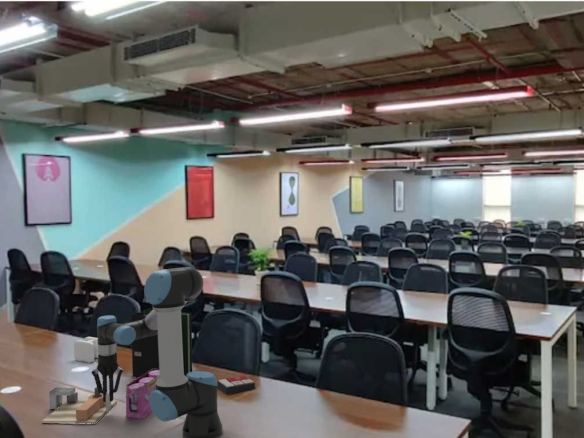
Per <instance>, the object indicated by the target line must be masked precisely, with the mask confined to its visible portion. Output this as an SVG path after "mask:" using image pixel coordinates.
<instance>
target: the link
mask: <svg viewBox="0 0 584 438" xmlns="http://www.w3.org/2000/svg"><path fill="white" fill-rule="evenodd" d="M86 400H87V401H86V402H85V403H84V404H82V405H81V406H80V407H79V408H78V409H76V420H87V419H88V418H89V417H90V416H91V415H93V414H94V413H95V412H96V411H97V410H98V409H99V408H100V407H103V406H105V405H106V402H104V401H103V394H102V393H100V397H98V398H95V393H93V394H90V395H89V396H88V399H86Z"/></svg>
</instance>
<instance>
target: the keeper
mask: <svg viewBox="0 0 584 438" xmlns="http://www.w3.org/2000/svg"><path fill="white" fill-rule="evenodd" d="M48 396H49V410H50V409H57V408H58V407H60V406H61V405H63V396H66V402H67V403H76V402H78V400H79V397H78V396H79V394H78V392H77V391H76V387H54V388H53V389H51V390H49V395H48Z"/></svg>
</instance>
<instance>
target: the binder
mask: <svg viewBox="0 0 584 438" xmlns="http://www.w3.org/2000/svg"><path fill="white" fill-rule="evenodd" d="M152 310H153V308H148V309H144V310H142V312H135V313H132V314H131V315H130V316H131V322H135V321H139V320H143V319H144V318H145V317H146V316H147V315H148V314H149V313H150V312H151V311H152ZM181 324H182V346H183V368H184V375H185V376H186V375H187V374H188V373H189V372H193V334H192V333H193V332H192V329H193V328H192V327H193V326H192V312H183V311H181ZM131 360H132V369H131V370H132V371H131V372H132V377H133V378H139V377H140V376H142V375H144V374H145V373H147V372H148V371H150V370H151V369H154V368H155V369H159V350H158V334H157V335H154V336H150V337H146V338H141V339H137V340H134V341H133V342H132V343H131Z"/></svg>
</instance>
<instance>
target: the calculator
mask: <svg viewBox="0 0 584 438" xmlns="http://www.w3.org/2000/svg"><path fill="white" fill-rule="evenodd" d="M217 385H218V386H217V390H219V391H221V392H222V393H223V394H224V395H225V396H226V395H227V396H228V395H232V394H235V393H241V392H246V391H249V390H254V389H255V388H256V382H254V381H253V380H252V379H250V378H249V377H247V376H245V375H242V376H235V377H230V378H229V377H228V378H226V379H219V380H218V379H217Z"/></svg>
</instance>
